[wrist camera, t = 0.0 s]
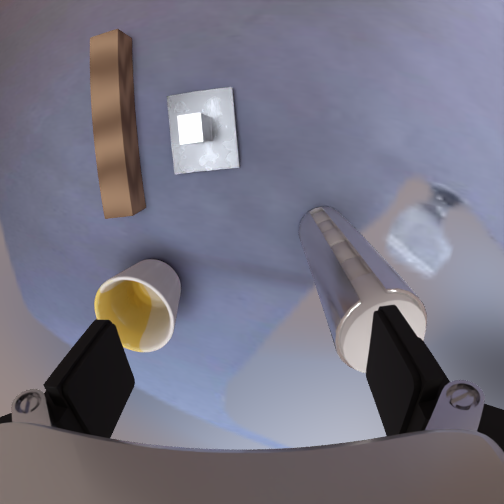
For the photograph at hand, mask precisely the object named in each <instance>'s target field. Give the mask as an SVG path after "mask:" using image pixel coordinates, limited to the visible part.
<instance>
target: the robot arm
mask: <svg viewBox="0 0 504 504" xmlns="http://www.w3.org/2000/svg"><path fill="white" fill-rule="evenodd" d="M366 378H367V381H368V384H369V386H370V389H371V392H372V394H373V397H374V400H375V403H376V406H377V409H378V412H379V414H380V417H381V420H382V423H383V426H384V429H385V432H386V435H387V436H386V437H380V438H374V439H368V440H362V441H354V442H347V443H339V444H330V445H322V446H312V447H301V448H300V447H299V448H284V449H257V450H224V449H197V448H182V447H169V446H160V445H151V444H143V443H135V442H129V441H122V440H116V439H110V437H111V435H112V433H113V431H114V428H115V426H116V424H117V422H118V420H119V417H120V415H121V413H122V411H123V409H124V407H125V405H126V402H127V400H128V398H129V396H130V394H131V392H132V389H133V388H134V384H135V381H134V376H133V374H132V371H131V368H130V366H129V363H128V360H127V357H126V354H125V352H124V349H123V346H122V343H121V340H120V337H119V334H118V331H117V328H116V325H115V324H112V322H111V321H110V320H95V321H94V322H93V323H92V324H91V325H90V326H89V328H88V329H87V330H86V331H85V333H84V334H83V335H82V336H81V337H80V339H79V340H78V341H77V342H76V344H75V345H74V346H73V347H72V349H71V350H70V351H69V353H68V354H67V355H66V356H65V357H64V359H63V360H62V361H61V363H60V364H59V365H58V367H57V368H56V369H55V370H54V372H53V373H52V374H51V375H50V377H49V378H48V380H47V381H46V382H45V384H44V387H45V389H46V392H45V393H43V392H42V391H40V390H37V389H30V390H26V391H24V392H22V393H21V394H19V395H18V396H17V397H16V398H15V399H14V400H13V403H12V407H11V410H12V413H10V414H7V415H5V416H2V417H0V504H504V410H502V409H499V408H496V407H493V406H490V405H487V404H484V402H485V396H484V393H483V391H482V390H481V388H480V387H479V386H477V385H476V384H474V383H472V382H470V381H466V380H455V381H452V382H450V381H449V380H448V378H447V377H446V375H445V373H444V372H443V370H442V369H441V367H440V366H439V364H438V362H437V361H436V359H435V358H434V356H433V355H432V353H431V352H430V350H429V349H428V347H427V346H426V344H425V343H424V341H423V340H422V339H421V338H419V337H417V335H416V334H415V332H414V331H413V329H412V328H411V326H410V325H409V323H408V322H407V321H406V319H405V318H404V316H403V315H402V313H401V312H400V310H399V309H398V308H397V306H396V305H387V306H380V307H379V309H378V311H374V313H373V321H372V330H371V338H370V346H369V353H368V360H367V367H366Z"/></svg>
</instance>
